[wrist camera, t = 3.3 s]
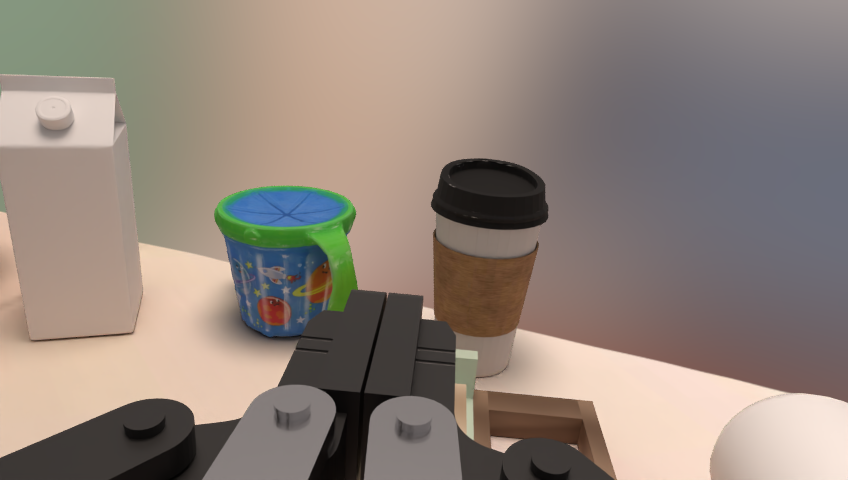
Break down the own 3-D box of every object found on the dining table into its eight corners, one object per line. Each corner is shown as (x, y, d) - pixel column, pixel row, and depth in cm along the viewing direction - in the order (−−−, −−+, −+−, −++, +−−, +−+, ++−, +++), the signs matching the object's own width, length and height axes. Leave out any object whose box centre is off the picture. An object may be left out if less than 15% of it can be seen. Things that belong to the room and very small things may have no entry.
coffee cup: (510, 329, 54) (535, 160, 48) (537, 387, 46) (570, 194, 41) (413, 328, 53) (427, 154, 47) (424, 388, 45) (442, 189, 40)
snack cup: (192, 295, 55) (184, 184, 52) (300, 270, 62) (300, 170, 58) (269, 384, 44) (266, 251, 40) (391, 343, 50) (399, 225, 47)
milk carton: (52, 298, 53) (14, 67, 46) (143, 293, 55) (120, 71, 48) (29, 342, 47) (-18, 82, 40) (133, 334, 49) (106, 86, 42)
